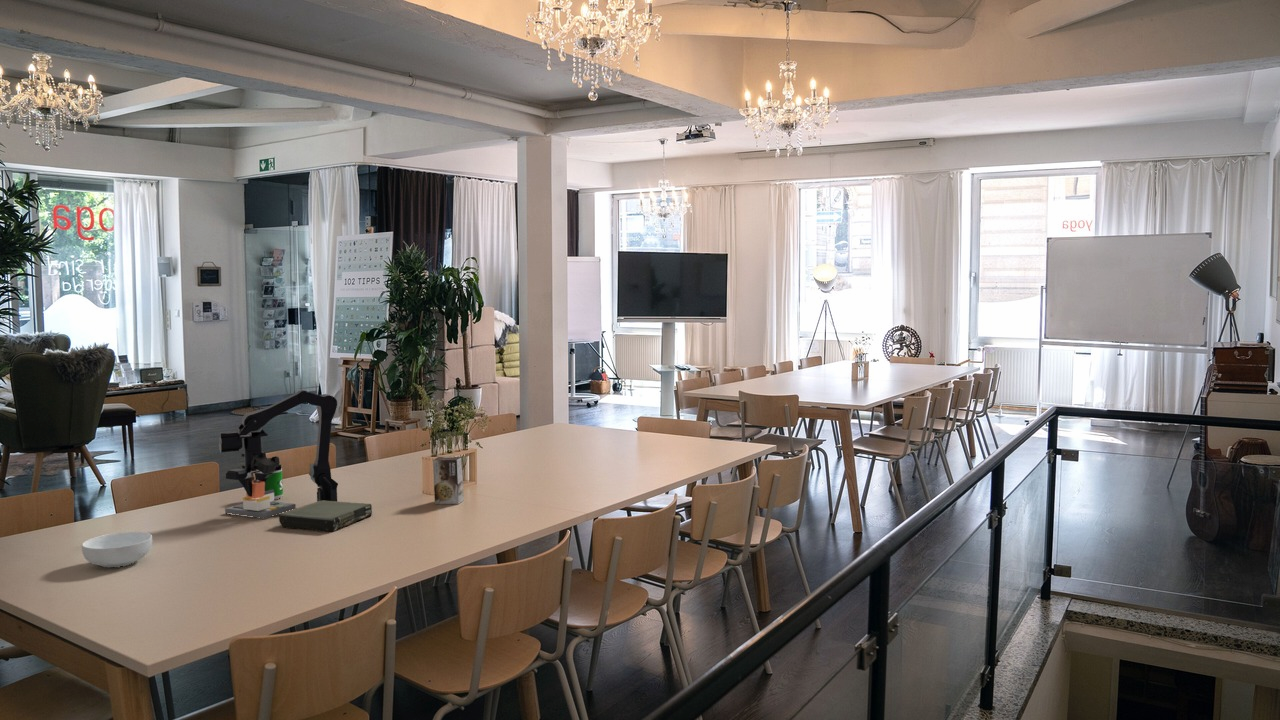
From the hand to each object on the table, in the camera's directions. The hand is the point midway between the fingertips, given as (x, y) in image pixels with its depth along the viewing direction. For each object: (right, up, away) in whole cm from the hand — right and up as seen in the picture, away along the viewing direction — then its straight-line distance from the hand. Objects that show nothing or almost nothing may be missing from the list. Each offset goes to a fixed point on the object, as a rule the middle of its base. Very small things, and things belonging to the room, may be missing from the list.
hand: (255, 495), depth 298 cm
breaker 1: (0, -5, 0) cm, 5 cm away
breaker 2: (-2, -4, +10) cm, 11 cm away
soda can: (-5, -5, +25) cm, 26 cm away
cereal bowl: (-15, -11, -53) cm, 56 cm away
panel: (0, -7, +5) cm, 8 cm away
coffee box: (+63, -5, +16) cm, 65 cm away
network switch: (+28, -8, -10) cm, 31 cm away
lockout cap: (0, 0, 0) cm, 0 cm away
